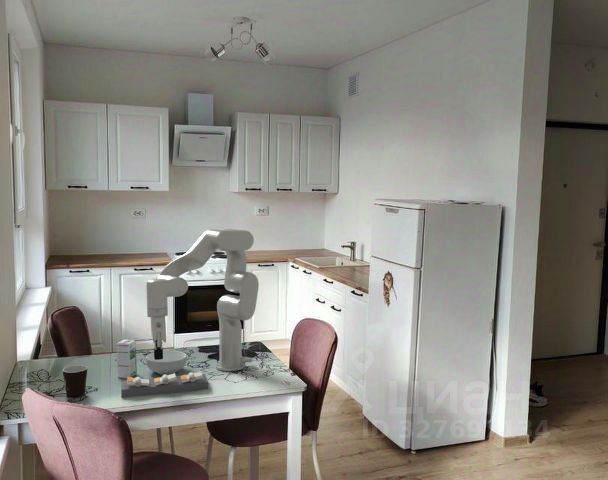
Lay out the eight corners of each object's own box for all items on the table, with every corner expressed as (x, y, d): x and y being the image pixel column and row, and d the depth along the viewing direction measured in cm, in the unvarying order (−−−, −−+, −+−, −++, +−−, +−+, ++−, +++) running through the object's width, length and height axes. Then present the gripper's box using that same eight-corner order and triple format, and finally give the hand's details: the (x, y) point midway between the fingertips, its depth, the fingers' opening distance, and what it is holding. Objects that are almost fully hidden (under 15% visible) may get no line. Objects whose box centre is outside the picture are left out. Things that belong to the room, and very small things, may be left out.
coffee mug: (84, 398, 209) (83, 372, 208) (59, 399, 208) (59, 372, 207) (93, 387, 220) (92, 362, 219) (70, 388, 219) (69, 362, 219)
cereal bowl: (172, 380, 230) (172, 363, 229) (137, 375, 235) (137, 358, 235) (194, 368, 245) (194, 352, 245) (161, 363, 251) (161, 348, 250)
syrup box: (130, 378, 231) (129, 343, 230) (116, 377, 232) (116, 342, 231) (136, 374, 237) (136, 340, 236) (123, 373, 238) (123, 339, 237)
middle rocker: (175, 377, 221) (174, 371, 220) (176, 380, 217) (175, 375, 216) (155, 383, 219) (153, 377, 218) (155, 387, 214) (154, 381, 214)
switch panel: (205, 381, 229) (204, 373, 229) (208, 389, 220) (208, 381, 219) (121, 388, 220) (121, 380, 219) (121, 397, 210) (121, 388, 210)
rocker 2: (201, 375, 224) (200, 369, 223) (203, 379, 220) (202, 373, 219) (181, 380, 222) (180, 374, 221) (182, 384, 217) (181, 378, 217)
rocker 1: (148, 383, 218) (149, 377, 218) (148, 387, 214) (149, 381, 214) (126, 382, 215) (127, 375, 215) (126, 385, 211) (127, 379, 211)
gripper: (169, 315, 209) (170, 364, 211) (166, 306, 223) (167, 352, 225) (148, 316, 207) (149, 365, 209) (146, 308, 221) (147, 354, 223)
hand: (158, 358), depth 217 cm, fingers closed
